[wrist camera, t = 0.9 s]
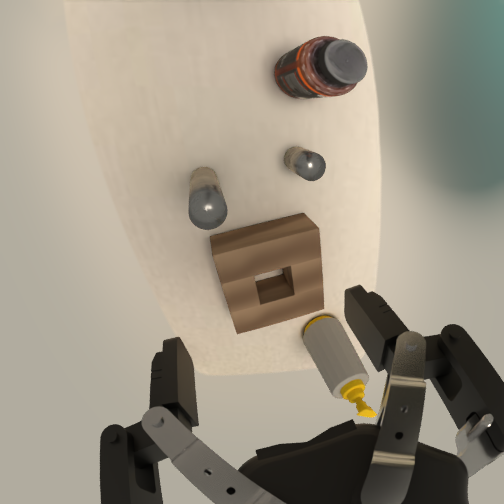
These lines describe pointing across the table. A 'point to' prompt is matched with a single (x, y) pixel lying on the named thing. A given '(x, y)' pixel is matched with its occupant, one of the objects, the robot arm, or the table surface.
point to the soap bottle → (337, 361)
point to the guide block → (268, 259)
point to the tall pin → (206, 200)
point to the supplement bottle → (321, 68)
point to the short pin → (305, 163)
